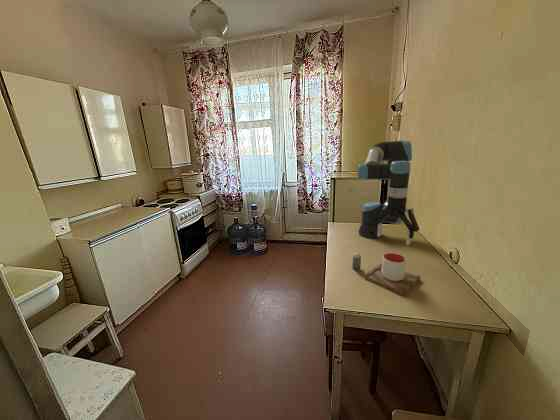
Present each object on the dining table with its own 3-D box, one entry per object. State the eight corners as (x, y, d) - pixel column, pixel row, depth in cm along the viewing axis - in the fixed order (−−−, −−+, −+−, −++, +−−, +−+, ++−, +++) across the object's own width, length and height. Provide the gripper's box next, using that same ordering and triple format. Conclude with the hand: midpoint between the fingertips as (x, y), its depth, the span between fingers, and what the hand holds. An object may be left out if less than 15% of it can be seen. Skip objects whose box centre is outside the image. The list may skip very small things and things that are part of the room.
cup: (377, 277, 108) (379, 258, 106) (385, 268, 115) (387, 251, 112) (400, 285, 102) (402, 265, 99) (406, 275, 108) (409, 256, 106)
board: (383, 265, 121) (383, 262, 120) (420, 279, 107) (420, 276, 107) (364, 278, 110) (364, 274, 110) (402, 295, 97) (403, 291, 96)
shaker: (355, 265, 122) (356, 250, 120) (361, 268, 119) (362, 253, 117) (350, 268, 120) (351, 253, 117) (357, 271, 117) (358, 255, 114)
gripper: (367, 193, 108) (364, 234, 114) (425, 202, 89) (418, 251, 95) (375, 191, 112) (372, 230, 118) (432, 199, 93) (425, 245, 99)
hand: (392, 239), depth 107 cm, fingers open, 13 cm apart
